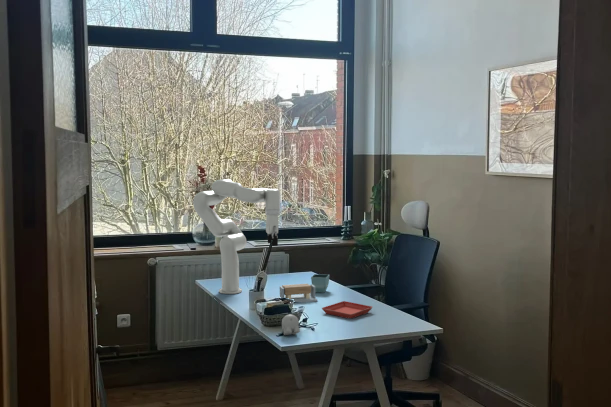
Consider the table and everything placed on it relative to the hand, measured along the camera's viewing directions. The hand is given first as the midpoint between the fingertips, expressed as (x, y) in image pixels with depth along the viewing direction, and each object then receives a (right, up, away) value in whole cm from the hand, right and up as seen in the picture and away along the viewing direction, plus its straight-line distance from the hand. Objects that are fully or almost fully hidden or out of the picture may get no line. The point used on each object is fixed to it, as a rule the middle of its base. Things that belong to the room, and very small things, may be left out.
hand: (272, 244), depth 340 cm
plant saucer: (+38, -32, -32) cm, 58 cm away
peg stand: (+13, -29, -4) cm, 32 cm away
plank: (+13, -25, -5) cm, 29 cm away
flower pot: (+26, -27, +15) cm, 40 cm away
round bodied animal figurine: (+10, -34, -66) cm, 75 cm away
